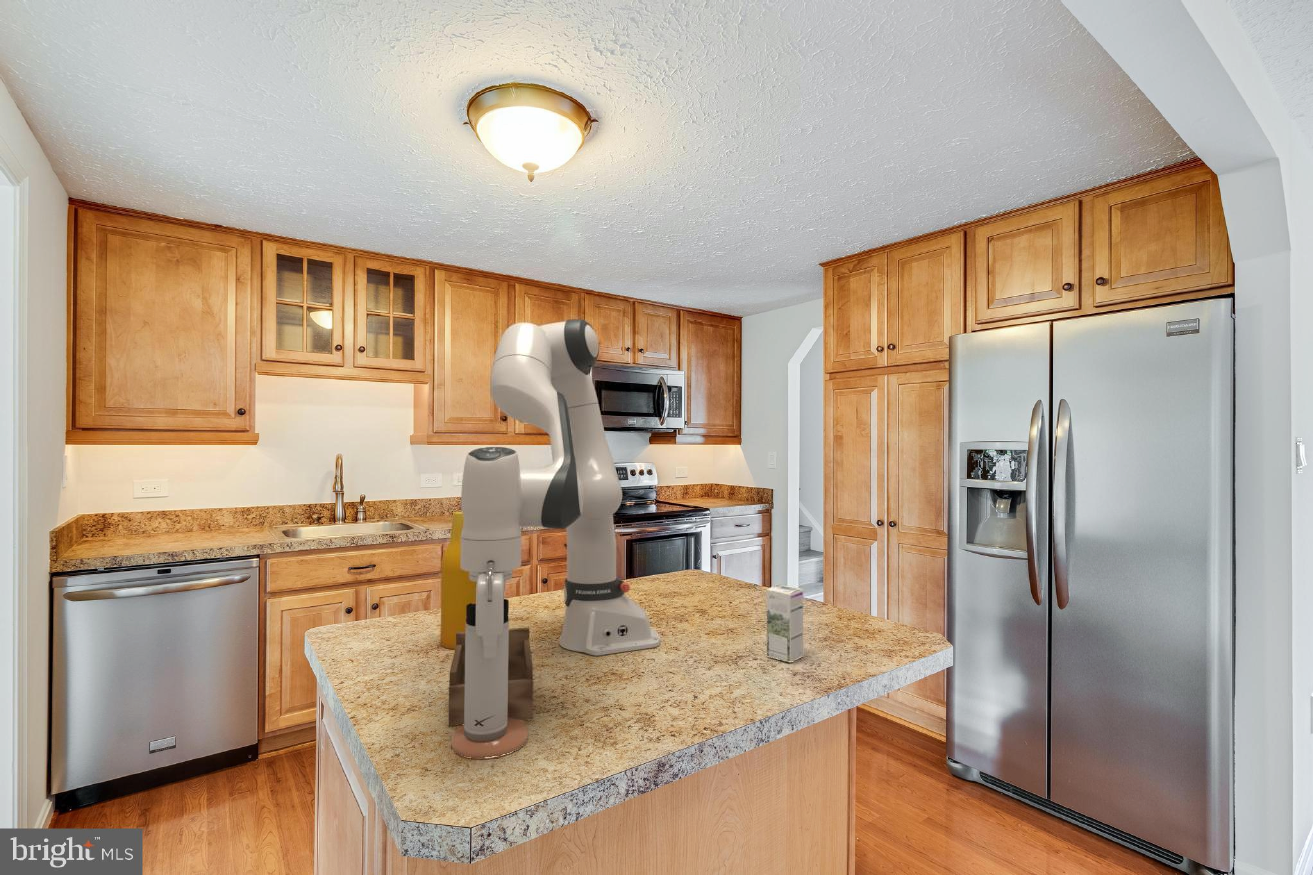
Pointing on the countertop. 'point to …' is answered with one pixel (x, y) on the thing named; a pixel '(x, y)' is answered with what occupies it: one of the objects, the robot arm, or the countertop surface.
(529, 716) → the frame
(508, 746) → the saucer
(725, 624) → the countertop surface
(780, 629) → the syrup box
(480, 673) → the travel mug
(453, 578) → the beer bottle
